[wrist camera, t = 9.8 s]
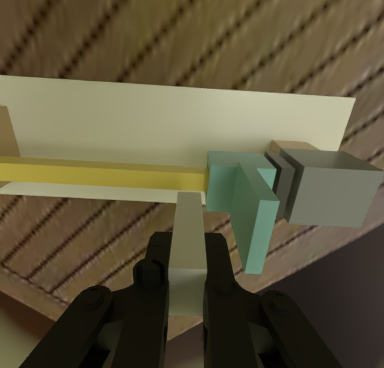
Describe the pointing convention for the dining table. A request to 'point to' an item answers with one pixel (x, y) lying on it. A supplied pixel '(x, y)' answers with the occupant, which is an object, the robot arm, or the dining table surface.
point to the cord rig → (178, 144)
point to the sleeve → (244, 201)
